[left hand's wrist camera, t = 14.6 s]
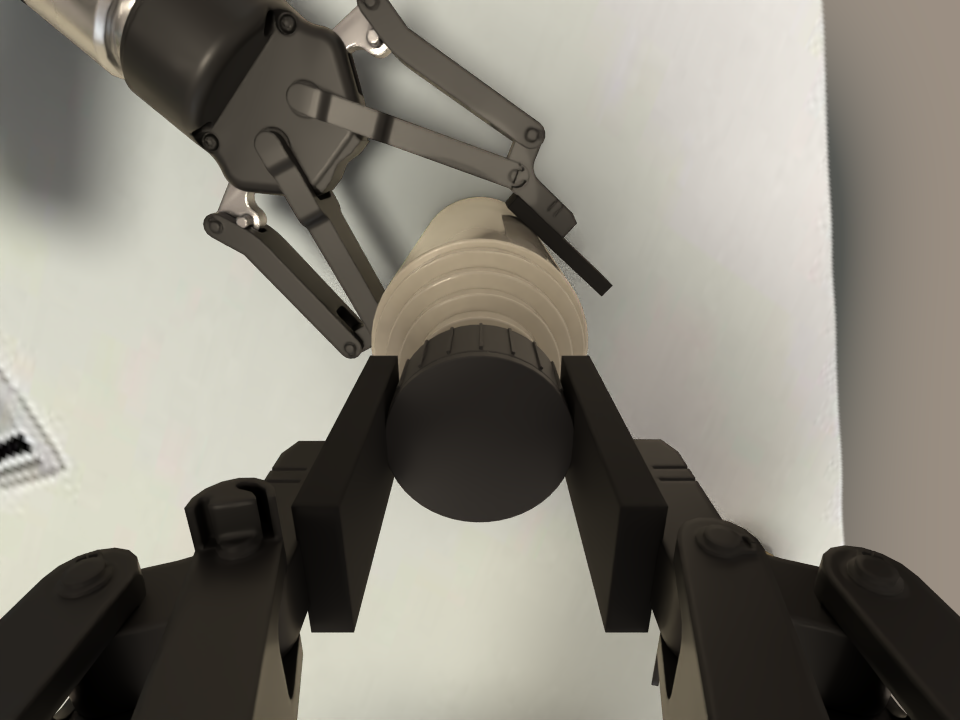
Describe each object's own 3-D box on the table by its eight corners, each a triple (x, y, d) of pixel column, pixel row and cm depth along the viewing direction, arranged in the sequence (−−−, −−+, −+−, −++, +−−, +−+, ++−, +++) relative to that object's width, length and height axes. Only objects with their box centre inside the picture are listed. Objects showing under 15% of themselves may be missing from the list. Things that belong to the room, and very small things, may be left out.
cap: (593, 363, 14) (614, 401, 12) (518, 493, 16) (523, 548, 14) (435, 293, 14) (427, 321, 11) (372, 437, 15) (354, 485, 13)
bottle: (448, 333, 36) (406, 587, 15) (399, 226, 33) (265, 355, 12) (556, 291, 34) (670, 502, 14) (514, 176, 32) (576, 227, 11)
